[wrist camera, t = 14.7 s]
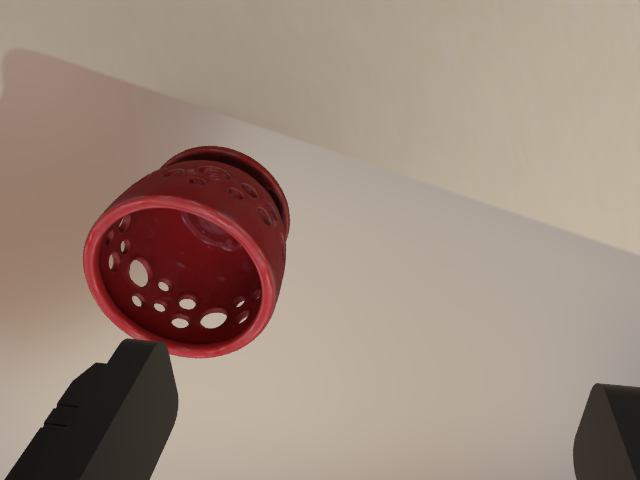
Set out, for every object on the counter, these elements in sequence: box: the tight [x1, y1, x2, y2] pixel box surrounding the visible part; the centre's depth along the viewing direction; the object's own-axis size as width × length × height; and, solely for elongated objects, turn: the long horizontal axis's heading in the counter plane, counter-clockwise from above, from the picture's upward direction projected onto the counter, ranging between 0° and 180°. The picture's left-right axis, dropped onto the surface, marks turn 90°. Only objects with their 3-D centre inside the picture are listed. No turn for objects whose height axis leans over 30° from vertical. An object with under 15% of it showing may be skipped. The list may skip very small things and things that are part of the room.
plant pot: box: [83, 146, 290, 358], centre depth 42 cm, size 13×13×12 cm
